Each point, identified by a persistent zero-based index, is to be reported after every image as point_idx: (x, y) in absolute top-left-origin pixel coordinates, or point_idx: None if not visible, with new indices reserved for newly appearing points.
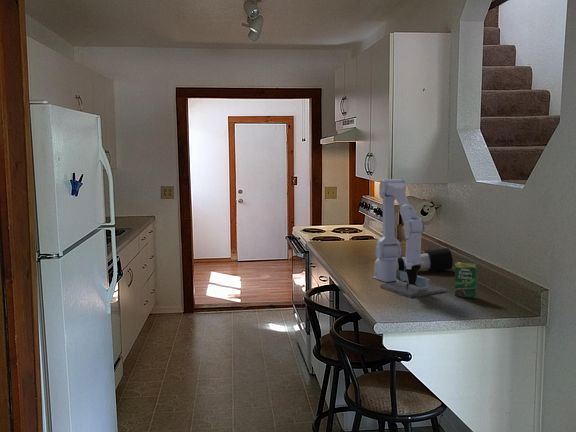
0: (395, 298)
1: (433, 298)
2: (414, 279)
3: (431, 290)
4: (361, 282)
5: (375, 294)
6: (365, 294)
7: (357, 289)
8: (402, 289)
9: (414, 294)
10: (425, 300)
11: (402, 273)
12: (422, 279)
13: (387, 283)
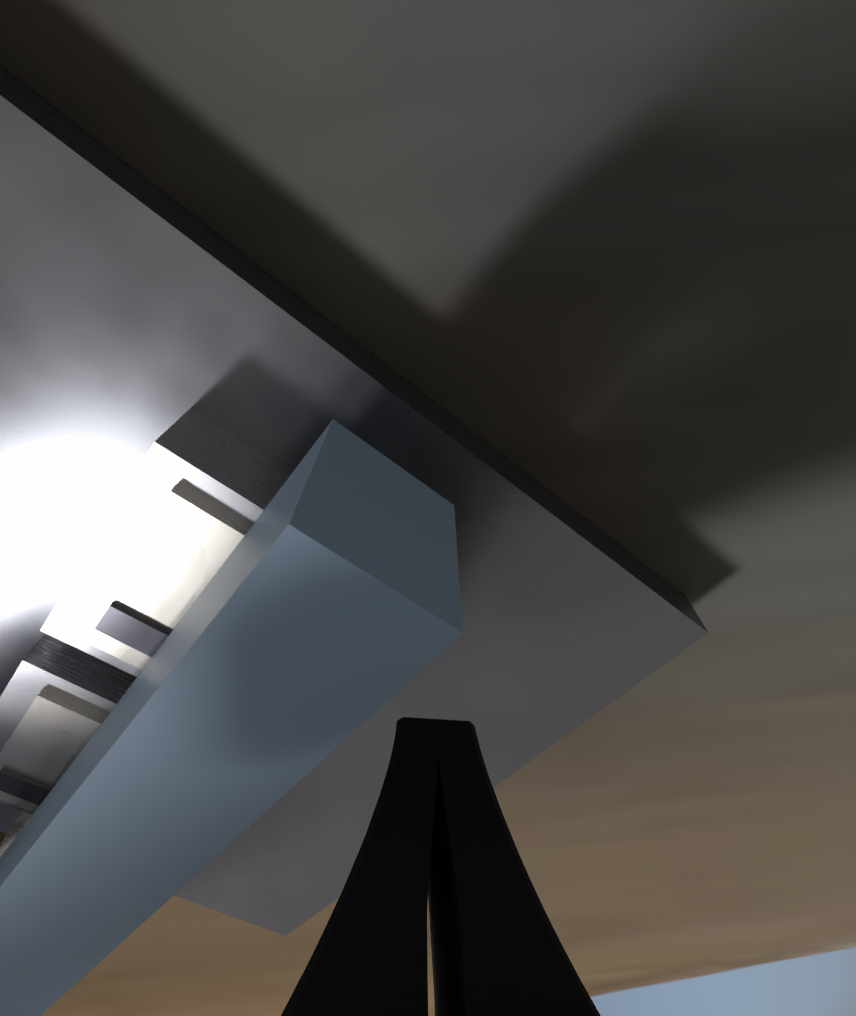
0: (747, 741)
1: (652, 221)
2: (500, 833)
3: (240, 330)
4: (199, 1002)
5: (605, 892)
6: (628, 940)
7: None
8: None
9: (651, 587)
10: (832, 365)
11: (46, 1003)
12: (382, 690)
13: (190, 898)
